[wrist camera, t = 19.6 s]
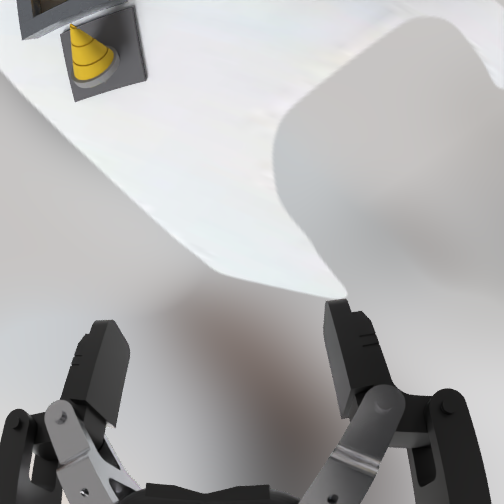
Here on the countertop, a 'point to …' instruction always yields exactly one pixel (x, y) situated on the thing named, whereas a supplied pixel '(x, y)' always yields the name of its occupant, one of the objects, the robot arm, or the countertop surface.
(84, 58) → the ridged yellow cone
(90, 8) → the grey open box
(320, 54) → the countertop surface
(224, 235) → the countertop surface
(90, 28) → the rest mat
